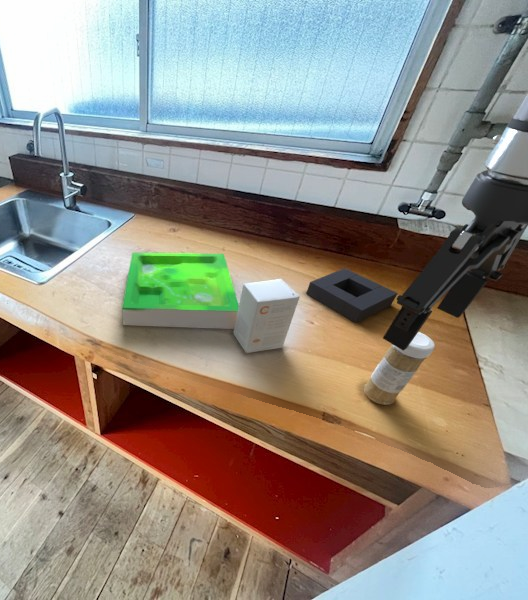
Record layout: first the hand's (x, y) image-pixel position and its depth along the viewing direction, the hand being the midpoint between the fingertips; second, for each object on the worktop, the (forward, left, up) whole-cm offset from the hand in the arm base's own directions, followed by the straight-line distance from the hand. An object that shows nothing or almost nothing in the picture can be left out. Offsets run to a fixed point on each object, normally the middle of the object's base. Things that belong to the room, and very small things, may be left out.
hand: (422, 327), depth 46 cm
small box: (+20, +8, -16) cm, 27 cm away
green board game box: (+42, +13, -16) cm, 47 cm away
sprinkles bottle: (0, 0, -16) cm, 16 cm away
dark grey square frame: (+20, -21, -16) cm, 33 cm away
